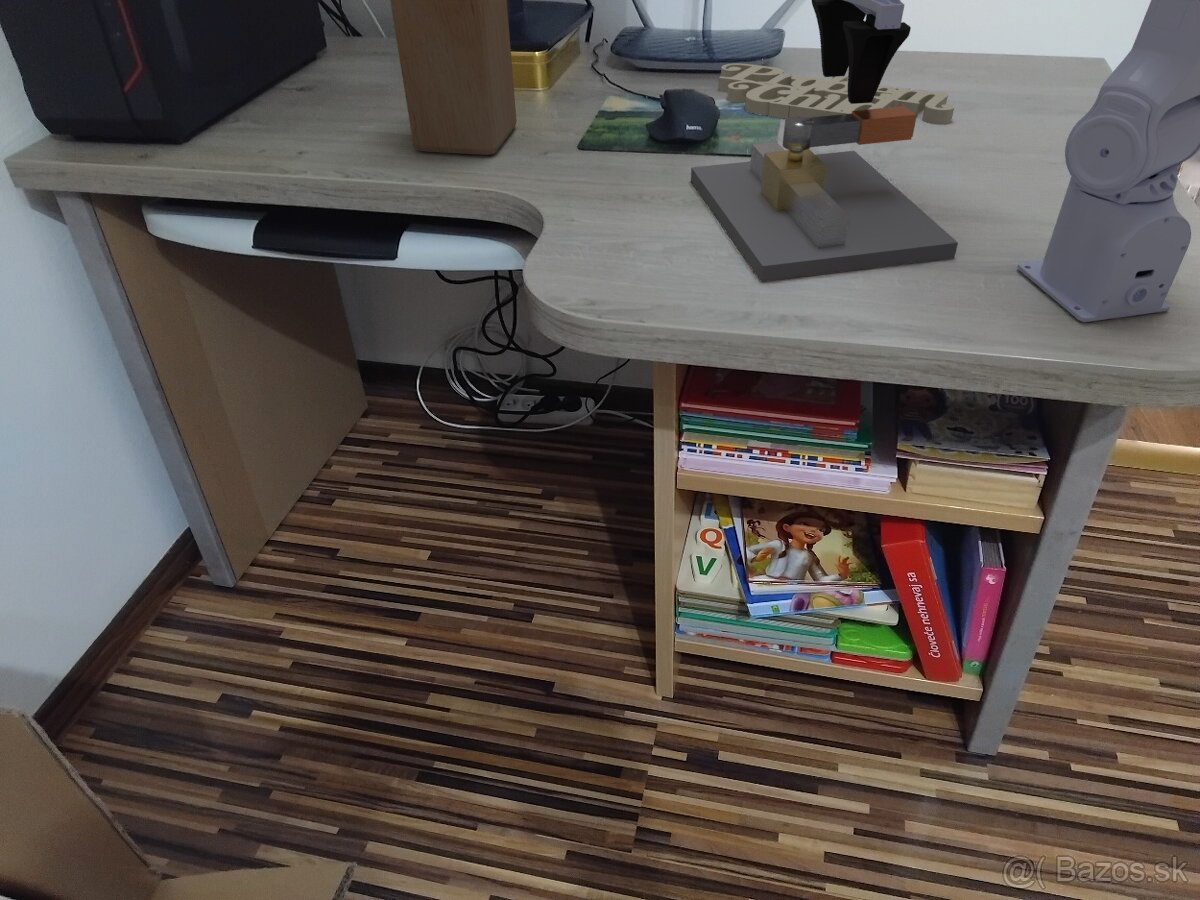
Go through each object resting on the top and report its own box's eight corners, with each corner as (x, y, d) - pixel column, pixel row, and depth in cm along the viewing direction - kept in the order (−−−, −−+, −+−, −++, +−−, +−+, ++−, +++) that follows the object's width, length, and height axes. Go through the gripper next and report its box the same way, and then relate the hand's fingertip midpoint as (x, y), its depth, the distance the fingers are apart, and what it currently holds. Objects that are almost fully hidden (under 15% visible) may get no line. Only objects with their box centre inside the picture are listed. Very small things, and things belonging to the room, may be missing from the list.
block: (495, 158, 99) (475, -43, 86) (411, 154, 100) (379, -45, 87) (519, 127, 106) (504, -63, 93) (440, 123, 108) (415, -64, 95)
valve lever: (788, 152, 80) (791, 127, 79) (778, 142, 82) (781, 117, 81) (913, 139, 82) (918, 114, 81) (901, 129, 84) (905, 105, 83)
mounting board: (954, 258, 78) (958, 242, 77) (761, 281, 76) (762, 266, 75) (851, 164, 95) (854, 150, 94) (690, 181, 93) (691, 167, 92)
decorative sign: (684, 94, 109) (729, 60, 119) (683, 111, 110) (727, 76, 120) (939, 131, 97) (965, 90, 108) (935, 149, 99) (961, 107, 109)
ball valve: (854, 243, 78) (864, 189, 74) (807, 249, 77) (815, 194, 74) (782, 165, 91) (787, 117, 88) (741, 170, 91) (745, 121, 88)
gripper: (803, -86, 82) (785, 66, 91) (856, -53, 71) (830, 117, 80) (876, -89, 82) (851, 63, 91) (941, -56, 71) (905, 113, 80)
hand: (846, 88), depth 85 cm, fingers open, 7 cm apart
